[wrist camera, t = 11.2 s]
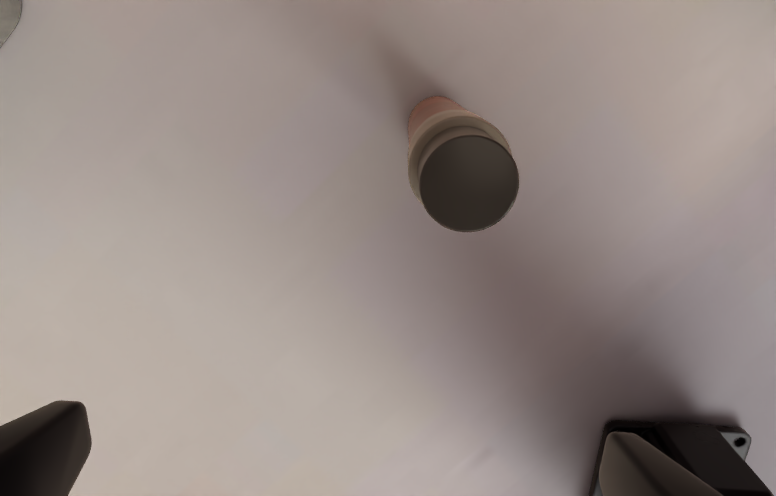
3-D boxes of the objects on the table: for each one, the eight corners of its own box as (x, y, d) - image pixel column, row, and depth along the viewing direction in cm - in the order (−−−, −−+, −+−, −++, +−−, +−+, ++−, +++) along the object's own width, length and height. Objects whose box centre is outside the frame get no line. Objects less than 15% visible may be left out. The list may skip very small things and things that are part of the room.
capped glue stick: (464, 157, 20) (522, 245, 10) (405, 154, 20) (405, 239, 10) (469, 96, 19) (538, 126, 9) (408, 93, 19) (412, 120, 9)
